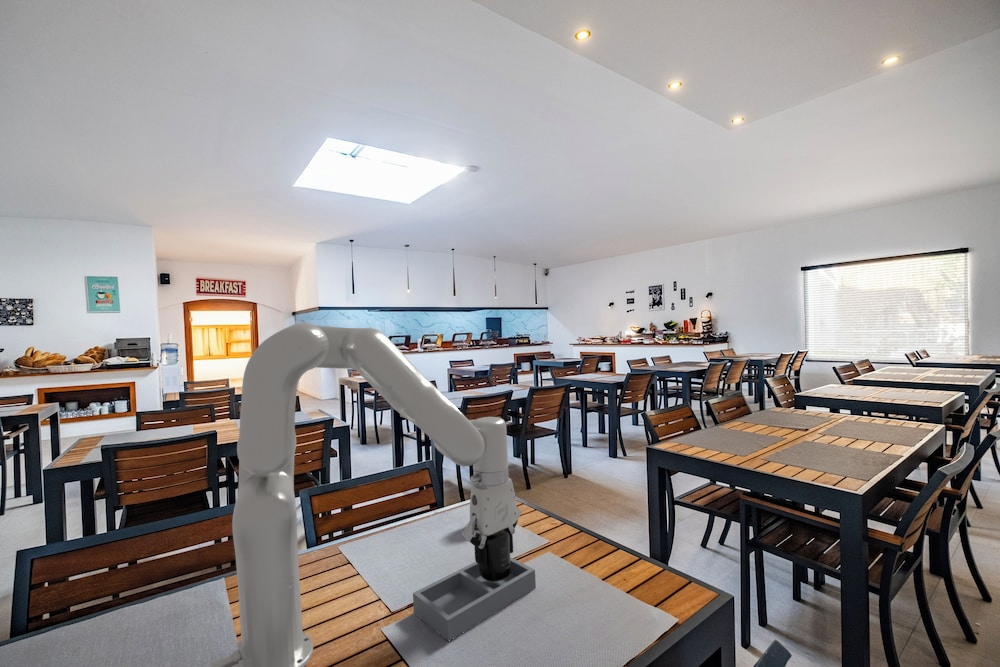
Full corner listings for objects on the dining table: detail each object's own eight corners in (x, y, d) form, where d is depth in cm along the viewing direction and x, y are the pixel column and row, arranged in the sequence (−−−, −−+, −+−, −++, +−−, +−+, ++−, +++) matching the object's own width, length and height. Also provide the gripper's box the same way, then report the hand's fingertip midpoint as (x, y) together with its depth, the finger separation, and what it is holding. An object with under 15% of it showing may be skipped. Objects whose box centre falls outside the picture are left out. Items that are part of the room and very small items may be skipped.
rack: (448, 641, 83) (447, 620, 83) (413, 612, 92) (412, 593, 92) (535, 587, 98) (534, 569, 98) (498, 567, 107) (497, 550, 107)
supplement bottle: (473, 578, 97) (471, 522, 97) (489, 562, 103) (486, 510, 103) (502, 585, 94) (499, 528, 94) (516, 569, 100) (514, 515, 100)
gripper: (470, 491, 89) (474, 580, 90) (531, 469, 101) (535, 548, 102) (447, 482, 95) (451, 566, 95) (508, 462, 107) (511, 537, 107)
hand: (494, 556), depth 99 cm, fingers closed on supplement bottle, 6 cm apart
